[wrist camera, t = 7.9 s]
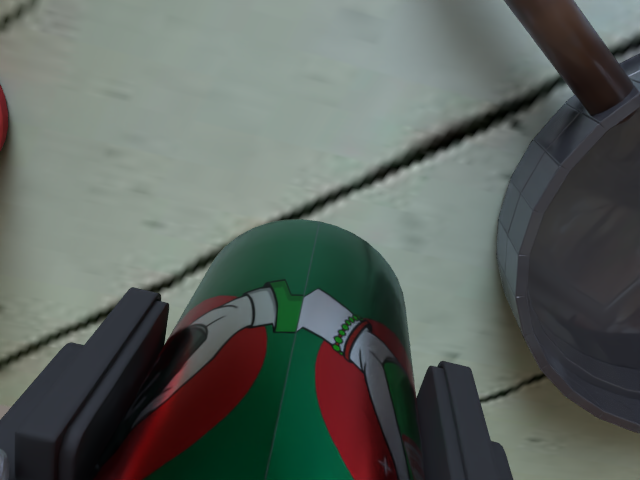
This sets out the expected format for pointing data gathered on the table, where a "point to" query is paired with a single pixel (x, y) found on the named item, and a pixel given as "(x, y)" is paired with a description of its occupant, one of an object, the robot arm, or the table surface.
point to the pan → (580, 254)
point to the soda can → (280, 370)
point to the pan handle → (575, 52)
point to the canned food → (3, 118)
